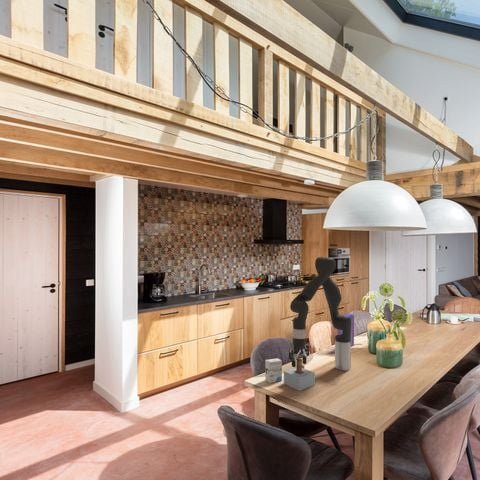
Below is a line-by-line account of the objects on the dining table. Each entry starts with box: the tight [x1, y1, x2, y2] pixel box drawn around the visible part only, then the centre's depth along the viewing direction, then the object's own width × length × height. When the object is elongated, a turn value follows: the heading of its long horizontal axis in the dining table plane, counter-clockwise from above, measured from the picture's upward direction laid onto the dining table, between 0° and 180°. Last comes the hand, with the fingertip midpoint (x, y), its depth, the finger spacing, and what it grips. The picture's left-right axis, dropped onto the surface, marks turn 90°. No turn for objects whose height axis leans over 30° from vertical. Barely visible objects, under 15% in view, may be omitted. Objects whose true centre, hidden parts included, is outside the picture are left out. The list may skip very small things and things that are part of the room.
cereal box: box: [336, 313, 355, 348], centre depth 267 cm, size 17×5×24 cm, turn 136°
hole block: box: [283, 367, 316, 392], centre depth 196 cm, size 12×12×7 cm
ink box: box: [264, 357, 283, 384], centre depth 202 cm, size 8×5×12 cm, turn 111°
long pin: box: [295, 357, 303, 374], centre depth 196 cm, size 3×3×14 cm
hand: (299, 365), depth 196 cm, fingers open, 8 cm apart
